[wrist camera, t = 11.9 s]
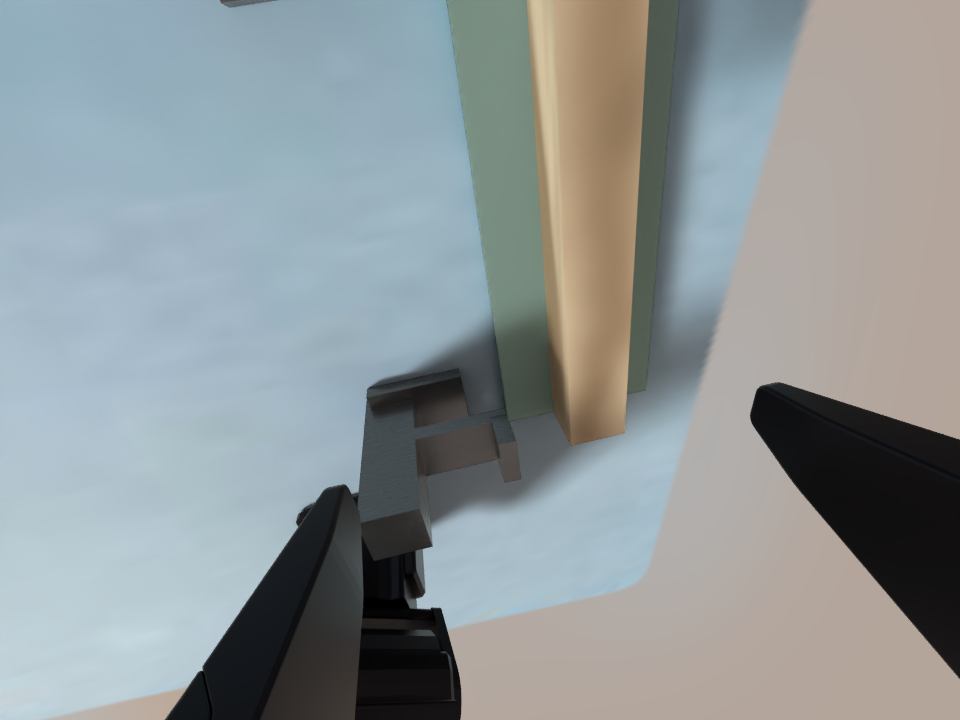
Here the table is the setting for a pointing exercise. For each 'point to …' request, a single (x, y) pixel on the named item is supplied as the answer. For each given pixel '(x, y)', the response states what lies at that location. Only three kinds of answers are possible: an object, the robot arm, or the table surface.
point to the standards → (418, 450)
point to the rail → (588, 198)
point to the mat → (515, 192)
